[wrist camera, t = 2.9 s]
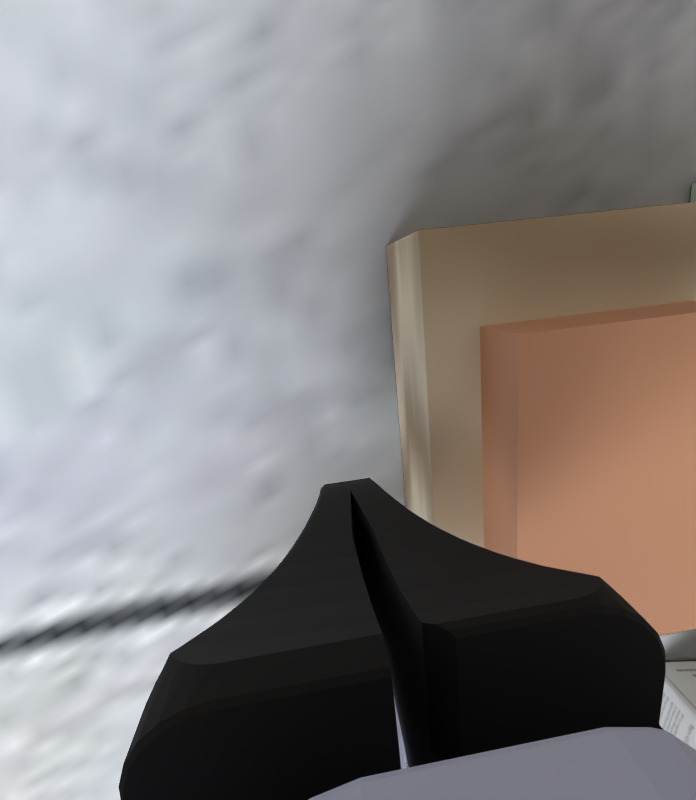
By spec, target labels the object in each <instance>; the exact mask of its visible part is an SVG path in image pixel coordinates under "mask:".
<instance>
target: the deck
mask: <svg viewBox="0 0 696 800" xmlns="http://www.w3.org/2000/svg"><path fill="white" fill-rule="evenodd" d="M386 255H387V268H388V282H389V295H390V308H391V321H392V334H393V347H394V360H395V373H396V387H397V400H398V413H399V426H400V439H401V452H402V465H403V478H404V491H405V505H406V508H407V509H409V510H410V511H412V512H413V513H415V514H416V515H418V516H419V517H421V518H423V519H424V520H426V521H427V522H429V523H431V524H432V525H434V526H436V527H438V528H440V529H442V530H444V531H446V532H448V533H450V534H452V535H454V536H456V537H458V538H460V539H463V540H465V541H467V542H470V543H472V544H475V545H477V546H480V547H483V548H484V518H483V465H482V412H481V358H480V326H487V325H495V324H503V323H511V322H519V321H528V320H536V319H544V318H552V317H561V316H569V315H577V314H585V313H593V312H602V311H610V310H618V309H626V308H635V307H643V306H651V305H659V304H667V303H676V302H684V301H696V202H690V203H680V204H670V205H660V206H650V207H640V208H631V209H621V210H611V211H601V212H591V213H581V214H571V215H562V216H552V217H542V218H532V219H522V220H512V221H502V222H493V223H483V224H473V225H463V226H453V227H443V228H433V229H424V230H417V231H415V232H413V233H411V234H409V235H407V236H405V237H403V238H401V239H399V240H397V241H395V242H393V243H391V244H389V245H387V246H386ZM695 629H696V628H695ZM689 630H694V629H689ZM689 630H684V631H689ZM684 631H679V632H684ZM673 633H678V632H673ZM673 633H668V634H673ZM668 634H663V635H668ZM659 636H662V635H659Z"/></svg>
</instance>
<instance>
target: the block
mask: <svg viewBox="0 0 696 800" xmlns="http://www.w3.org/2000/svg"><path fill="white" fill-rule="evenodd" d="M480 358H481V412H482V465H483V518H484V548H485V549H488V550H491V551H493V552H496V553H499V554H503V555H506V556H509V557H512V558H516V559H519V560H523V561H527V562H531V563H534V564H538V565H542V566H546V567H551V568H557V569H562V570H567V571H573V572H578V573H583V574H589V575H594V576H599V577H600V578H601V579H603V580H604V581H605V582H606V583H607V584H609V585H610V586H611V587H612V588H613V589H614V590H615V591H616V592H617V593H618V594H620V595H621V596H622V597H623V598H624V599H625V600H626V601H627V602H628V603H629V604H630V605H631V606H632V607H633V608H634V609H635V610H636V611H637V612H638V613H639V614H640V615H641V616H642V617H643V618H644V619H645V620H646V621H647V622H648V623H649V624H650V625H651V626H652V627H653V628H654V630H655V631H656V632H657V633H658V634H659V635H663V634H668V633H673V632H679V631H684V630H689V629H695V628H696V301H684V302H676V303H667V304H659V305H651V306H643V307H635V308H626V309H618V310H610V311H602V312H593V313H585V314H577V315H569V316H561V317H552V318H544V319H536V320H528V321H519V322H511V323H503V324H495V325H487V326H480Z"/></svg>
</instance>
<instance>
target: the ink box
mask: <svg viewBox="0 0 696 800" xmlns="http://www.w3.org/2000/svg"><path fill="white" fill-rule="evenodd" d="M665 665H666V673H665V682H664V689H663V697H662V705H661V712H660V720H659V725H660V726H661V727H662V728H663V730H666V731H668V732H669V733H671V734H672V735H674V736H675V737H677V738H678V739H680V740H682V741H683V742H685V743H686V744H688V745H689V746H691V747H692V748H694V749H695V750H696V661H682V662H665Z"/></svg>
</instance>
